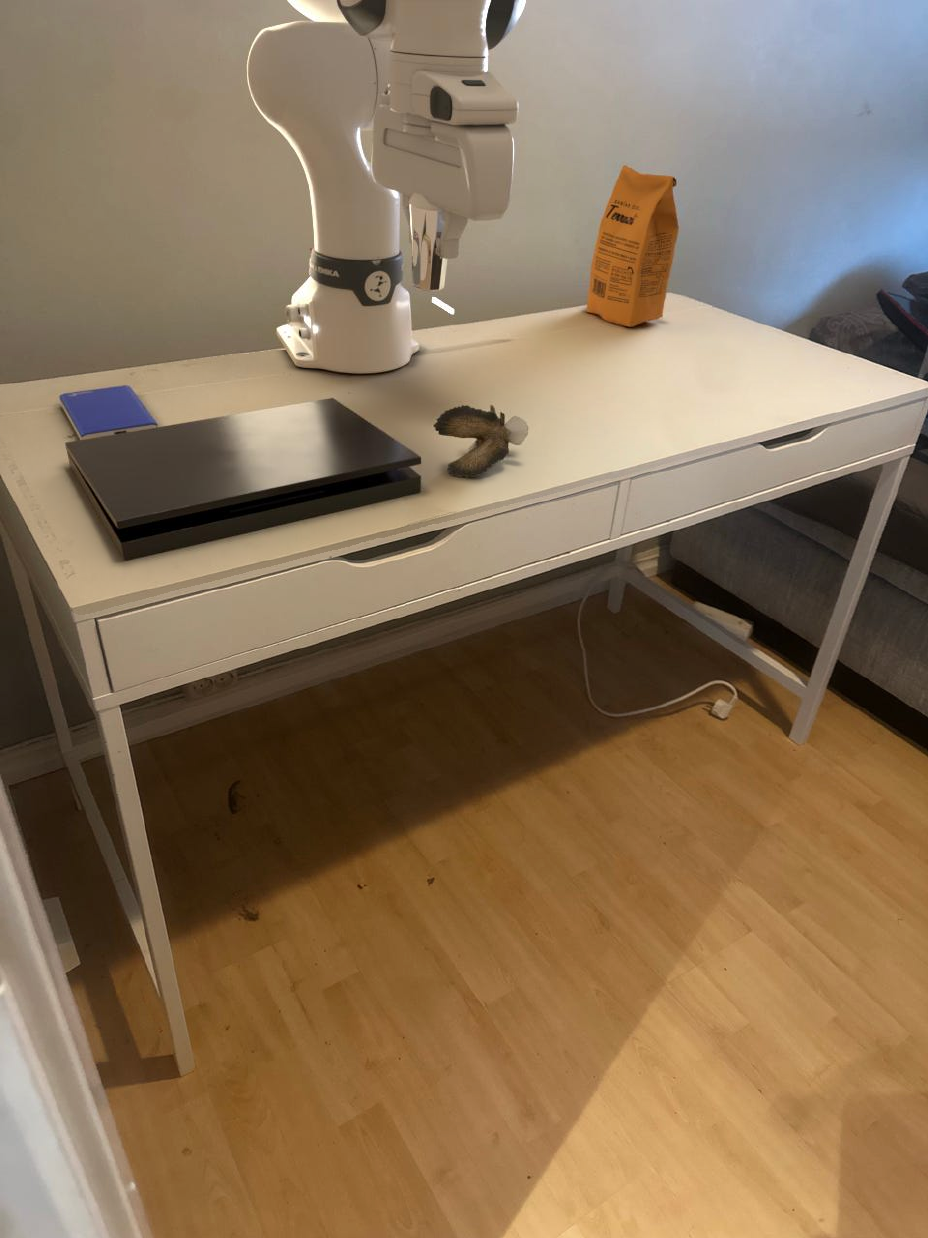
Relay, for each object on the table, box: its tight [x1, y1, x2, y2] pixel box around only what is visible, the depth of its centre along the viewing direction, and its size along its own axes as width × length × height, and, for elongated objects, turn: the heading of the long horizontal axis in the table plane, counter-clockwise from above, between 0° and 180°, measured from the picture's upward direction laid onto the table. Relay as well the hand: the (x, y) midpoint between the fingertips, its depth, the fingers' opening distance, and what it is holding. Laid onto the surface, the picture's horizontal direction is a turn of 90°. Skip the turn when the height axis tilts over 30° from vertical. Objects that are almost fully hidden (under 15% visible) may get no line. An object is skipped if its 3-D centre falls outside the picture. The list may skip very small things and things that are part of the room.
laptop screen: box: [64, 397, 422, 529], centre depth 91 cm, size 21×30×1 cm
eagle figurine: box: [433, 404, 530, 478], centre depth 97 cm, size 8×7×9 cm
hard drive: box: [58, 384, 159, 440], centre depth 102 cm, size 2×8×12 cm
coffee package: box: [585, 164, 680, 328], centre depth 141 cm, size 10×12×22 cm
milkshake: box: [409, 193, 449, 292], centre depth 88 cm, size 4×5×10 cm
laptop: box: [66, 450, 422, 561], centre depth 92 cm, size 21×30×2 cm
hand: (433, 250), depth 89 cm, fingers closed on milkshake, 4 cm apart
